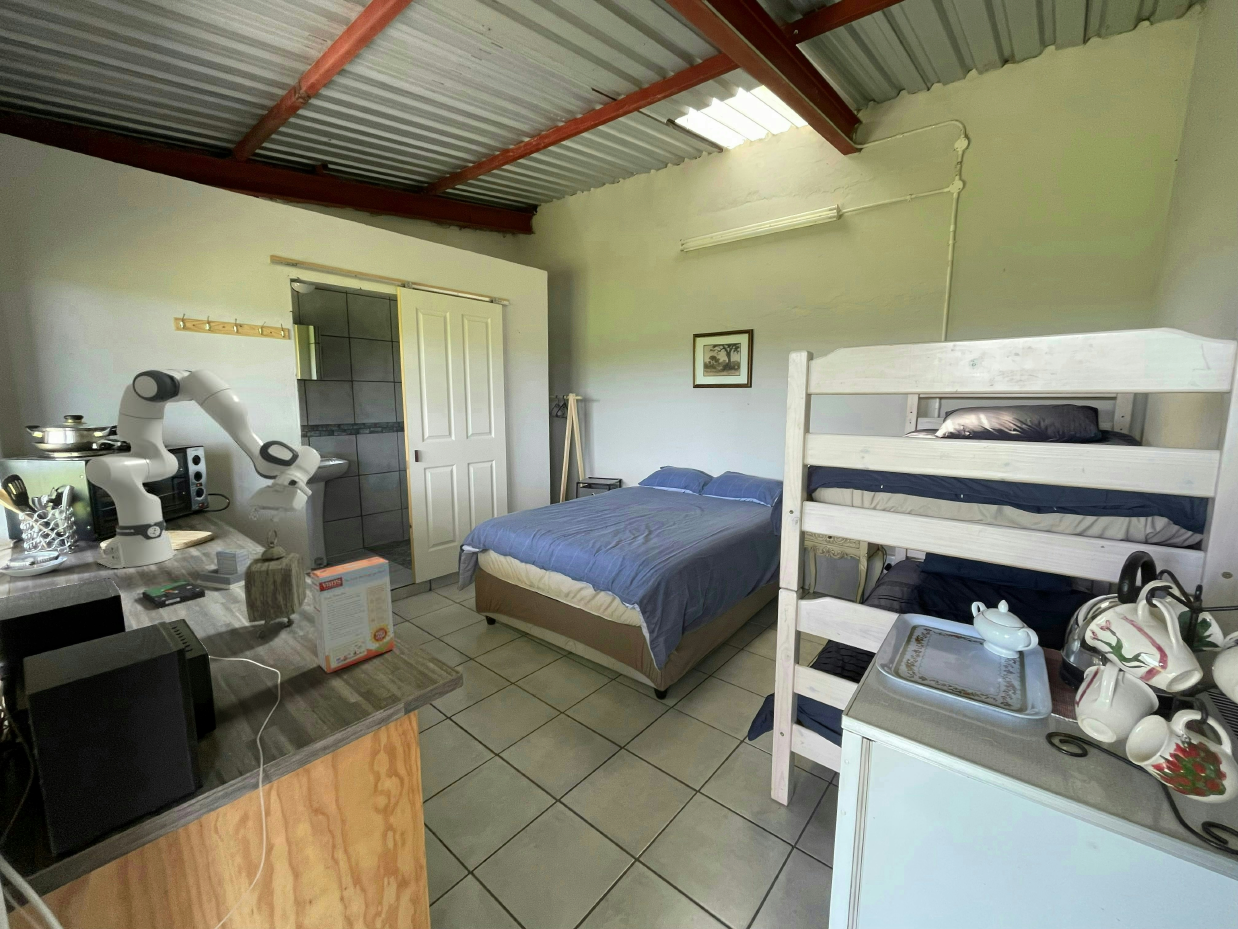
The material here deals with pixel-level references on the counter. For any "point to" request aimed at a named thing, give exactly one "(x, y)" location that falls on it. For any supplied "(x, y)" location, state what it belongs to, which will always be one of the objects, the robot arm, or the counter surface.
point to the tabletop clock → (274, 585)
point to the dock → (220, 579)
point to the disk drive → (173, 594)
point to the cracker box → (352, 612)
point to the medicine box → (232, 561)
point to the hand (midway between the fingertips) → (262, 520)
